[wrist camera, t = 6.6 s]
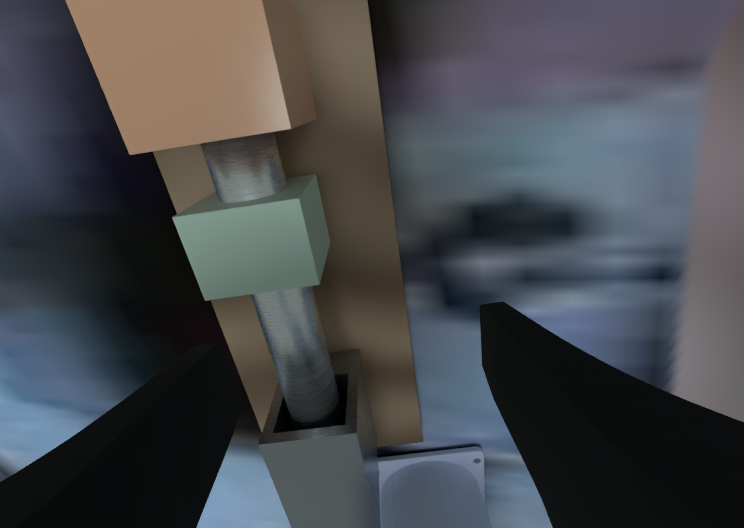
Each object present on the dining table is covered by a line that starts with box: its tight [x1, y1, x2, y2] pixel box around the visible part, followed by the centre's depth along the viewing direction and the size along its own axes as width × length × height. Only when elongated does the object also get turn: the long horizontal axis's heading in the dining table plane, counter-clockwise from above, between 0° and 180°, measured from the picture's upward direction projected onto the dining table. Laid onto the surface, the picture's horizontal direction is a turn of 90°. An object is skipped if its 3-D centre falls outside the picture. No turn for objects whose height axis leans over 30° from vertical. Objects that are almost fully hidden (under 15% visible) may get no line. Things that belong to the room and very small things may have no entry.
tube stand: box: [66, 0, 423, 528], centre depth 16 cm, size 24×10×7 cm, turn 8°
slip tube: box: [172, 132, 342, 431], centre depth 14 cm, size 16×4×4 cm, turn 8°
